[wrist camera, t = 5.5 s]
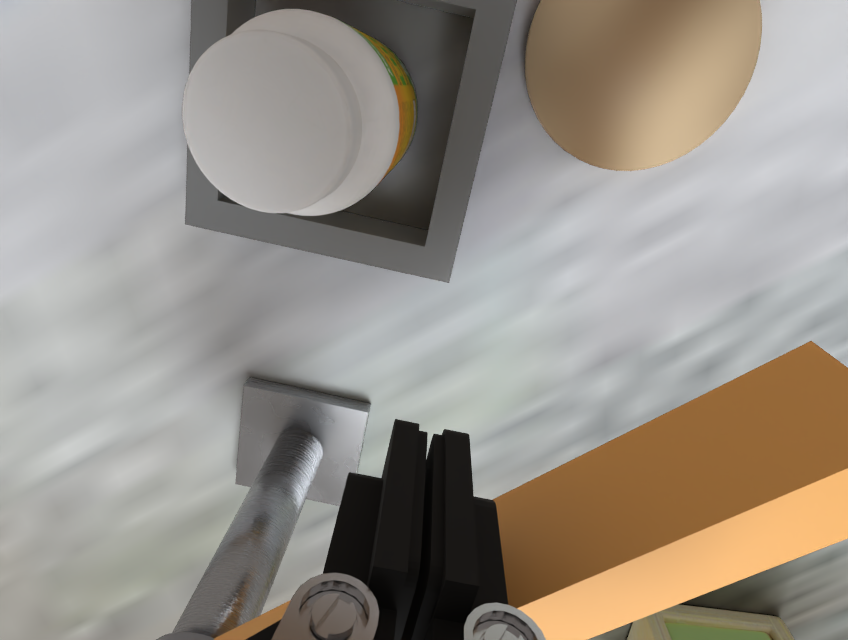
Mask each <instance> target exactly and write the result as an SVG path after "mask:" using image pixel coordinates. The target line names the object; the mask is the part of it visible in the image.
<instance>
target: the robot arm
mask: <svg viewBox="0 0 848 640" xmlns="http://www.w3.org/2000/svg"><path fill="white" fill-rule="evenodd" d="M426 452H427V432H423V431H419V424H417V423H412V422H407V421H402V420H397V419H395V422H394V426H393V430H392V435H391V439H390V443H389V448H388V452H387V456H386V461H385V465H384V470H383V474H382V478H377V477H372V476H366V475H361V474H356V473H351V472H349V473H348V477H347V480H346V484H345V488H344V492H343V496H342V500H341V504H340V508H339V512H338V516H337V520H336V524H335V528H334V532H333V536H332V540H331V543H330V547H329V551H328V555H327V559H326V563H325V567H324V571H323V574H321V575H318V576H315V577H313V578H310V579H309V580H307V581H306V582H305V583H303V584H302V585H301V586H300V587H299V588H298V590H297V591H296V592H295V594H294V595H293V597H292V599H291V601H290V603H289V605H288V607H287V609H286V611H285V613H284V615H283V617H282V619H281V620H279V621H277V622H275V623H274V624H272V625H270V626H268V627H267V628H265V629H263V630H261V631H260V632H258V633H256V634H254V635H253V636H251V637H249V638H247V639H245V640H546V639H545V637H544V634H543V632H542V630H541V629H540V628H539V627H538V626H537V624H536V623H535V622H534V621H533V619H531V618H530V617H529V616H527V615H526V614H525V613H524V612H522V611H521V610H519V609H517V608H514V607H512V606H510V605H508V598H507V589H506V581H505V573H504V565H503V557H502V548H501V540H500V532H499V524H498V515H497V508H496V503H495V502H494V500H489V499H483V498H478V497H473V483H472V468H471V454H470V439H469V434H466V433H461V432H456V431H451V430H446V429H444V431H443V433H442V435H438V434H434V435H433V437H432V441H431V445H430V448H429V452H428V456H427V460H426Z"/></svg>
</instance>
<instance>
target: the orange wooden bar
mask: <svg viewBox="0 0 848 640" xmlns="http://www.w3.org/2000/svg"><path fill="white" fill-rule="evenodd" d="M493 500H494V502H495V503H496V508H497V515H498V524H499V532H500V540H501V548H502V557H503V565H504V573H505V581H506V589H507V598H508V605H510V606H512V607H514V608H517V609H519V610H521V611H522V612H524V613H525V614H526V615H527V616H529V617H530V618H531V619H533V621H534V622H535V623H536V624H537V626H538V627H539V628H540V629H541V630H542V632H543V634H544V637H545V639H546V640H587V639H590V638H592V637H595V636H598V635H600V634H603V633H605V632H608V631H610V630H613V629H616V628H618V627H621V626H623V625H626V624H628V623H631V622H634V621H636V620H639V619H641V618H644V617H646V616H649V615H652V614H654V613H657V612H659V611H662V610H665V609H667V608H670V607H672V606H675V605H677V604H680V603H683V602H685V601H688V600H690V599H693V598H695V597H698V596H701V595H703V594H706V593H708V592H711V591H713V590H716V589H719V588H721V587H724V586H726V585H729V584H731V583H734V582H737V581H739V580H742V579H744V578H747V577H750V576H752V575H755V574H757V573H760V572H762V571H765V570H768V569H770V568H773V567H775V566H778V565H780V564H783V563H786V562H788V561H791V560H793V559H796V558H798V557H801V556H804V555H806V554H809V553H811V552H814V551H817V550H819V549H822V548H824V547H827V546H829V545H832V544H835V543H837V542H840V541H842V540H845V539H847V538H848V368H847V367H846V366H845V365H843V364H842V363H840V362H839V361H838V360H836V359H835V358H834V357H832V356H831V355H830V354H828V353H827V352H826V351H824V350H823V349H822V348H820V347H819V346H818V345H816V344H815V343H813V342H812V341H810V342H808V343H806V344H804V345H802V346H800V347H798V348H796V349H794V350H792V351H790V352H788V353H786V354H784V355H782V356H780V357H778V358H776V359H774V360H772V361H770V362H768V363H766V364H764V365H762V366H760V367H758V368H756V369H754V370H752V371H750V372H748V373H746V374H744V375H742V376H740V377H738V378H736V379H734V380H732V381H730V382H728V383H726V384H724V385H722V386H720V387H718V388H716V389H714V390H712V391H710V392H708V393H706V394H704V395H702V396H700V397H698V398H696V399H694V400H692V401H690V402H688V403H686V404H684V405H682V406H680V407H678V408H676V409H674V410H671V411H669V412H667V413H665V414H663V415H661V416H659V417H657V418H655V419H653V420H651V421H649V422H647V423H645V424H643V425H641V426H639V427H637V428H635V429H633V430H631V431H629V432H627V433H625V434H623V435H621V436H619V437H617V438H615V439H613V440H611V441H609V442H607V443H605V444H603V445H601V446H599V447H597V448H595V449H593V450H591V451H589V452H587V453H585V454H583V455H581V456H579V457H577V458H575V459H573V460H571V461H569V462H567V463H565V464H563V465H561V466H559V467H557V468H555V469H553V470H551V471H549V472H547V473H545V474H543V475H541V476H539V477H537V478H535V479H533V480H531V481H529V482H527V483H525V484H523V485H521V486H519V487H517V488H515V489H513V490H511V491H509V492H507V493H505V494H503V495H501V496H499V497H497V498H495V499H493ZM290 601H291V600H290ZM290 601H288V602H286V603H284V604H282V605H280V606H278V607H276V608H274V609H272V610H270V611H268V612H266V613H264V614H262V615H260V616H258V617H256V618H254V619H252V620H250V621H248V622H246V623H244V624H242V625H240V626H238V627H236V628H234V629H232V630H230V631H228V632H226V633H224V634H222V635H220V636H218V637H216V638H212V637H210V636H206V635H203V634H198V633H192V632H176V633H170V634H167V635H164V636H162V637H160V638H158V639H157V640H245V639H247V638H249V637H251V636H253V635H254V634H256V633H258V632H260V631H261V630H263V629H265V628H267V627H268V626H270V625H272V624H274V623H275V622H277V621H279V620H281V619H282V617H283V615H284V613H285V611H286V609H287V607H288V605H289V603H290Z"/></svg>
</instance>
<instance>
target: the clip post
mask: <svg viewBox="0 0 848 640" xmlns="http://www.w3.org/2000/svg"><path fill="white" fill-rule="evenodd" d="M370 406H371V404H370V403H366V402H361V401H357V400H352V399H348V398H343V397H338V396H334V395H329V394H325V393H320V392H315V391H311V390H306V389H302V388H297V387H293V386H288V385H283V384H279V383H274V382H270V381H265V380H261V379H256V378H251V377H250V378H249V379H248V380H247V382H246V383H245V384H244V388H243V400H242V412H241V424H240V436H239V448H238V460H237V472H236V484H239V485H243V486H248V487H251V488H250V490H249V492H248V494H247V495H246V497H245V499H244V501H243V503H242V505H241V507H240V508H239V510H238V512H237V514H236V516H235V518H234V520H233V521H232V523H231V525H230V527H229V529H228V531H227V532H226V534H225V536H224V538H223V540H222V542H221V544H220V545H219V547H218V549H217V551H216V553H215V555H214V557H213V558H212V560H211V562H210V564H209V566H208V568H207V569H206V571H205V573H204V575H203V577H202V579H201V581H200V582H199V584H198V586H197V588H196V590H195V592H194V594H193V595H192V597H191V599H190V601H189V603H188V605H187V606H186V608H185V610H184V612H183V614H182V616H181V618H180V619H179V621H178V623H177V625H176V627H175V629H174V631H173V632H172V633H176V632H192V633H198V634H203V635H206V636H210V637H212V638H216V637H218V636H220V635H222V634H224V633H226V632H228V631H230V630H232V629H234V628H236V627H238V626H240V625H242V624H244V623H246V622H248V621H250V620H252V619H254V618H256V617H258V616H260V615H261V612H262V610H263V607H264V604H265V602H266V599H267V597H268V594H269V592H270V589H271V587H272V584H273V581H274V579H275V576H276V574H277V571H278V569H279V566H280V564H281V561H282V558H283V556H284V553H285V551H286V548H287V546H288V543H289V541H290V538H291V536H292V533H293V530H294V528H295V525H296V523H297V520H298V518H299V515H300V513H301V510H302V507H303V505H304V502H305V500H306V499H308V500H313V501H318V502H322V503H327V504H332V505H336V506H340V504H341V500H342V496H343V492H344V488H345V484H346V480H347V477H348V473H349V472H351V473H356V474H357V471H358V466H359V461H360V456H361V451H362V446H363V441H364V436H365V431H366V426H367V421H368V416H369V411H370Z"/></svg>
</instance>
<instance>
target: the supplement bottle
mask: <svg viewBox="0 0 848 640" xmlns="http://www.w3.org/2000/svg"><path fill="white" fill-rule="evenodd" d="M182 118H183V127H184V132H185V137H186V140H187V143H188V146H189V149H190V151H191V154H192V156H193V158H194V159H195V161H196V163H197V165H198V167H199V168H200V170H201V171H202V173H203V174H204V175H205V177H206V178H207V179H208V180H209V181H210V182H211V183H212V184H213V185H214V186H215V187H216V188H217V189H218V190H219V191H220V192H221V193H223V194H224V195H226V196H227V197H228V198H230V199H231V200H233V201H235V202H237V203H238V204H240V205H243V206H245V207H247V208H249V209H253V210H257V211H260V212H267V213H289V214H294V215H301V216H318V215H325V214H330V213H334V212H337V211H340V210H343V209H345V208H347V207H349V206H351V205H353V204H355V203H356V202H358V201H359V200H361V199H362V198H364V197H365V196H366V195H367V194H369V193H370V192H371V191H372V190H373V189H374V188H375V187H376V186H377V185H378V184H379V183H380V182H381V180H382V179H383V178H384V177H385V176H386V175H387V174H388V173H389V172H390V171H391V170H392V169H393V168H394V167H395V165H397V163H398V162H399V161H400V160H401V159H402V157H403V156H404V155H405V153H406V151H407V150H408V148H409V146H410V144H411V142H412V139H413V137H414V133H415V130H416V125H417V118H418V106H417V97H416V92H415V88H414V85H413V82H412V79H411V77H410V75H409V73H408V71H407V69H406V68H405V66H404V65H403V63H402V62H401V61H400V59H399V58H398V57H397V56H396V55H395V54H394V53H393V52H392V51H391V50H390V49H389V48H388V47H386V46H385V45H384V44H382V43H381V42H380V41H378V40H376V39H374V38H373V37H371V36H369V35H367V34H365V33H363V32H361V31H359V30H357V29H355V28H353V27H351V26H349V25H347V24H345V23H343V22H342V21H340V20H338V19H336V18H333V17H331V16H328V15H324V14H321V13H318V12H314V11H310V10H302V9H281V10H275V11H271V12H267V13H264V14H262V15H259V16H256V17H254V18H252V19H250V20H249V21H247V22H246V23H244V24H243V25H241V26H240V27H239V28H238V29H236V30H235V31H234V32H233V33H232V34H231V35H229V36H226V37H224V38H222V39H221V40H219V41H217V42H216V43H214V44H213V45H212V46H210V47H209V48H208V49H207V50H206V51H205V52H204V53H203V54H202V55H201V56H200V58H199V59H198V61H197V62H196V63H195V65H194V67H193V69H192V71H191V73H190V75H189V77H188V80H187V83H186V86H185V90H184V95H183V104H182Z"/></svg>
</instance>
